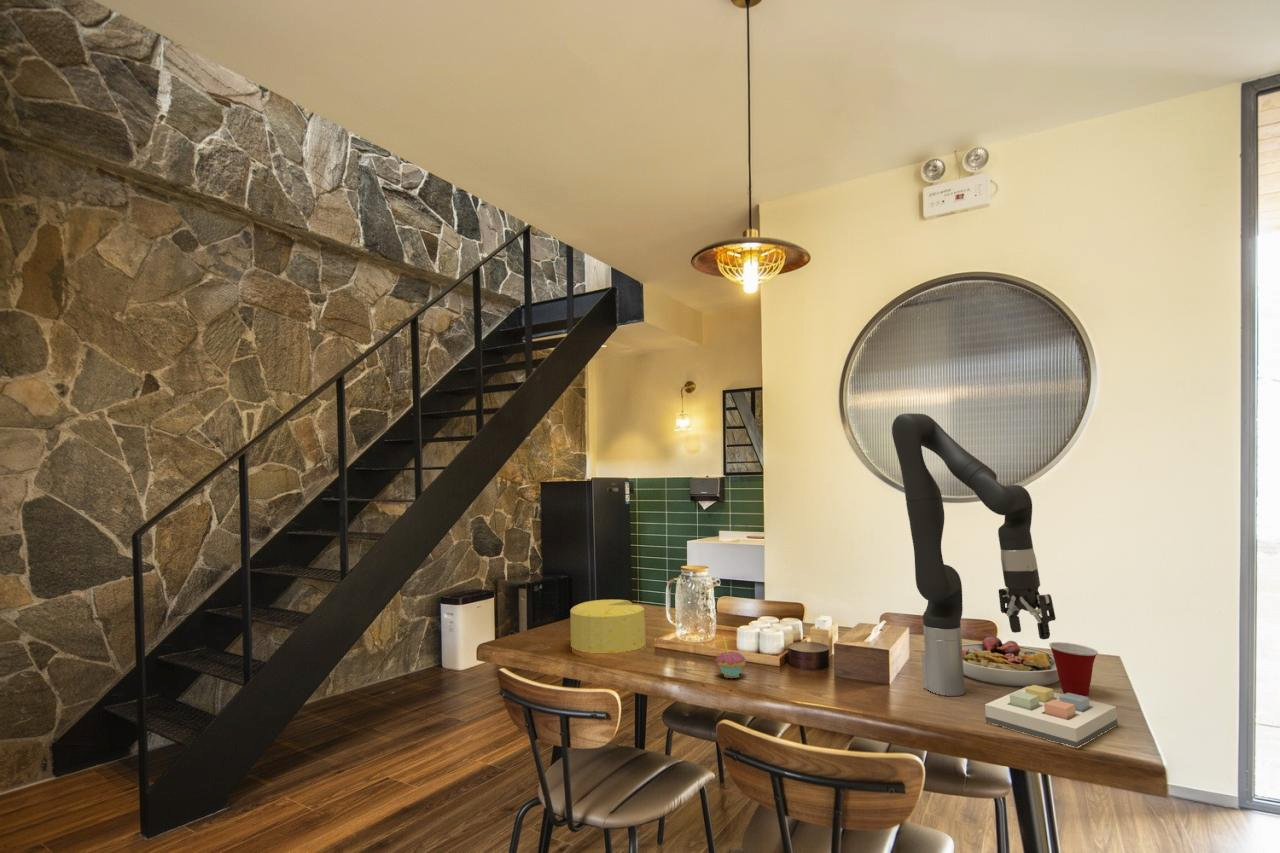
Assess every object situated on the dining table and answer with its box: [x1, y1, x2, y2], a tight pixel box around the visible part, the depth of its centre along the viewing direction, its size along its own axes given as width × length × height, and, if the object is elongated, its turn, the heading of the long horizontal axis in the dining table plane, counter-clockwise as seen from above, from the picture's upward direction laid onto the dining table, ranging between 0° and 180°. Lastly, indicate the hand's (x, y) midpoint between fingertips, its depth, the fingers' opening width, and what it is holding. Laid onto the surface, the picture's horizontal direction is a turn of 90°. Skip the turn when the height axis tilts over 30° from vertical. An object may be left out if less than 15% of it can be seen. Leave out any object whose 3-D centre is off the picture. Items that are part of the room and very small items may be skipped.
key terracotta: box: [1044, 699, 1076, 720], centre depth 146 cm, size 4×4×2 cm
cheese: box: [569, 599, 646, 653], centre depth 229 cm, size 26×26×15 cm
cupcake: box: [715, 634, 747, 676], centre depth 193 cm, size 9×8×12 cm
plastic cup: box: [1048, 641, 1099, 697], centre depth 171 cm, size 11×11×12 cm
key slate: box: [1059, 693, 1090, 712], centre depth 150 cm, size 4×4×2 cm
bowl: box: [962, 635, 1060, 688], centre depth 190 cm, size 30×30×8 cm
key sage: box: [1010, 690, 1039, 710], centre depth 152 cm, size 4×4×2 cm
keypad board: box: [984, 686, 1118, 747], centre depth 151 cm, size 19×21×4 cm
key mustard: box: [1024, 685, 1055, 703], centre depth 156 cm, size 4×4×2 cm
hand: (1030, 635), depth 158 cm, fingers open, 8 cm apart
